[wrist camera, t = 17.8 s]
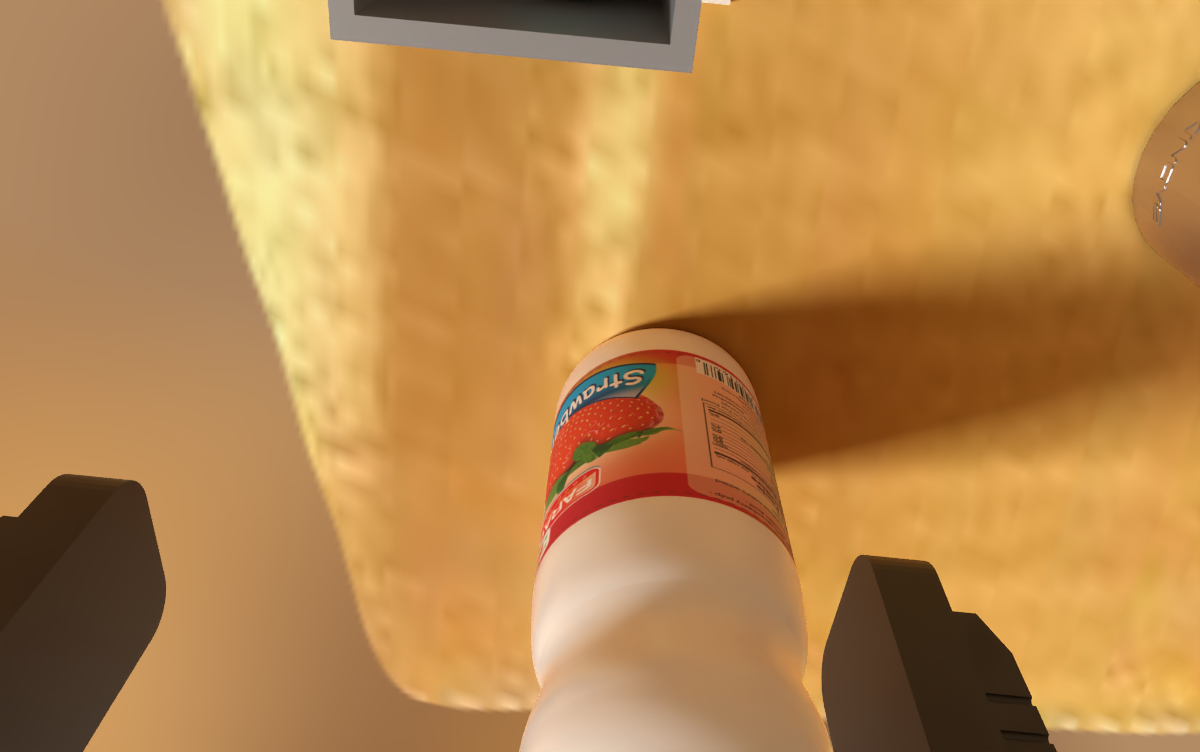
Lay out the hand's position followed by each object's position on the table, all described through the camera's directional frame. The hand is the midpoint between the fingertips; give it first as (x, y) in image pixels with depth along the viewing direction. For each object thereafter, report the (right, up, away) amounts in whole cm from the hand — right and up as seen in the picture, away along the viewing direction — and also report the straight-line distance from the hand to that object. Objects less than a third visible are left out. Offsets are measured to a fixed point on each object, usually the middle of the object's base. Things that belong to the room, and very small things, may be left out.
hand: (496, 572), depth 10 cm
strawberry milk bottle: (+4, +1, +32) cm, 32 cm away
